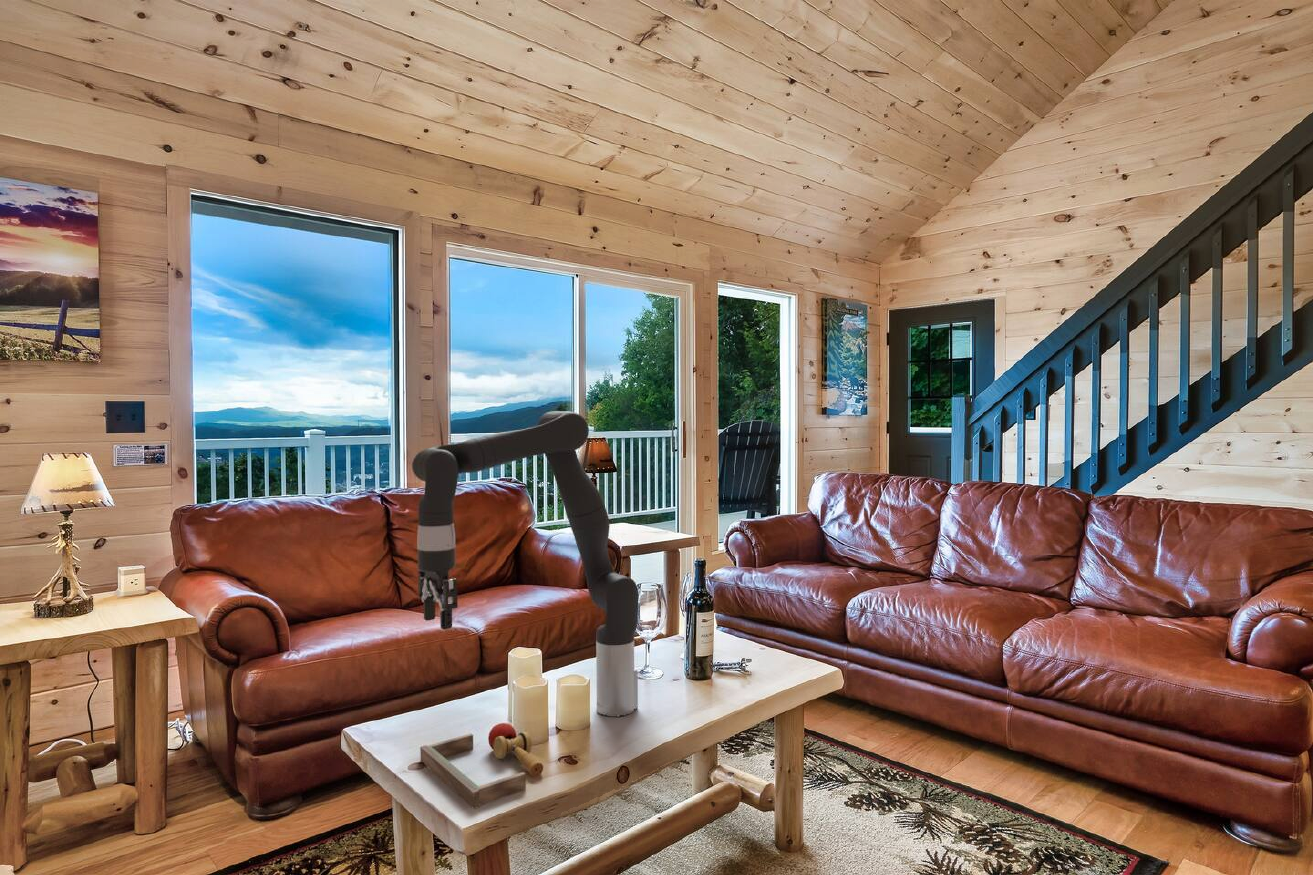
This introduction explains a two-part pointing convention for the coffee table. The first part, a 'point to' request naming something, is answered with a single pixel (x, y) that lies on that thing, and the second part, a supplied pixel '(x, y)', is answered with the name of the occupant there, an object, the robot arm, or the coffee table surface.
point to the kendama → (514, 746)
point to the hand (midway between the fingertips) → (437, 623)
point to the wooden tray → (462, 783)
